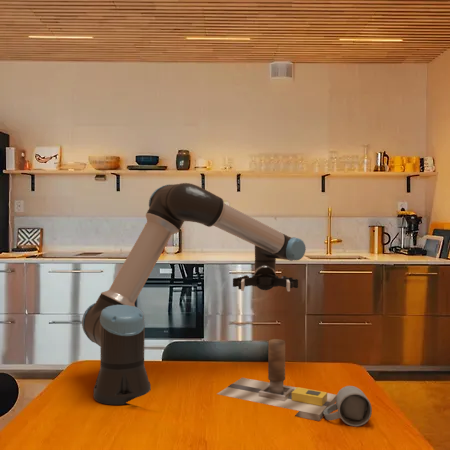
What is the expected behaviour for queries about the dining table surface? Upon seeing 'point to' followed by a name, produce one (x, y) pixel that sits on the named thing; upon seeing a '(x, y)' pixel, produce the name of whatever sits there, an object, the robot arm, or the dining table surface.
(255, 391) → the subfloor panel
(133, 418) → the dining table surface
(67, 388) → the dining table surface
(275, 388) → the brown tall rounded piece
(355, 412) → the ceramic mug
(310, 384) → the dining table surface
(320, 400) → the block
